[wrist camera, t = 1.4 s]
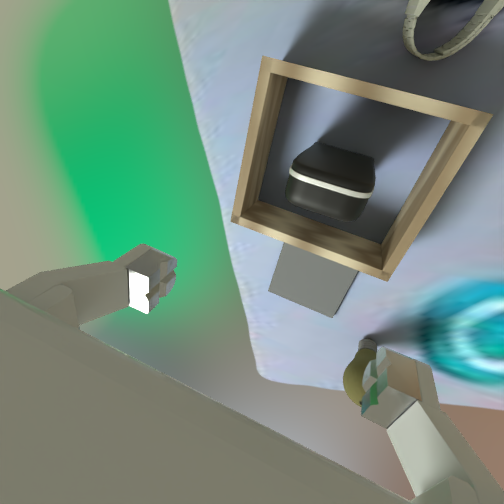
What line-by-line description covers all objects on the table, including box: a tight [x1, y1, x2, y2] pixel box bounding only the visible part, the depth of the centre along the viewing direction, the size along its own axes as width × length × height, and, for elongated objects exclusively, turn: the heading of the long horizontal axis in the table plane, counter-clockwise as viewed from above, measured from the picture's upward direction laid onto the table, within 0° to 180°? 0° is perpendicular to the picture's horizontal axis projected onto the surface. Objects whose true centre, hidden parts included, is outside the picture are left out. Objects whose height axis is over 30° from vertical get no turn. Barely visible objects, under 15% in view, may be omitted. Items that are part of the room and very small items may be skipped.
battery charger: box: [285, 142, 375, 222], centre depth 27 cm, size 7×4×11 cm, turn 79°
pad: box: [268, 242, 358, 318], centre depth 39 cm, size 10×10×1 cm
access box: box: [231, 56, 494, 282], centre depth 29 cm, size 18×16×6 cm
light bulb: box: [343, 339, 377, 407], centre depth 37 cm, size 6×6×10 cm
